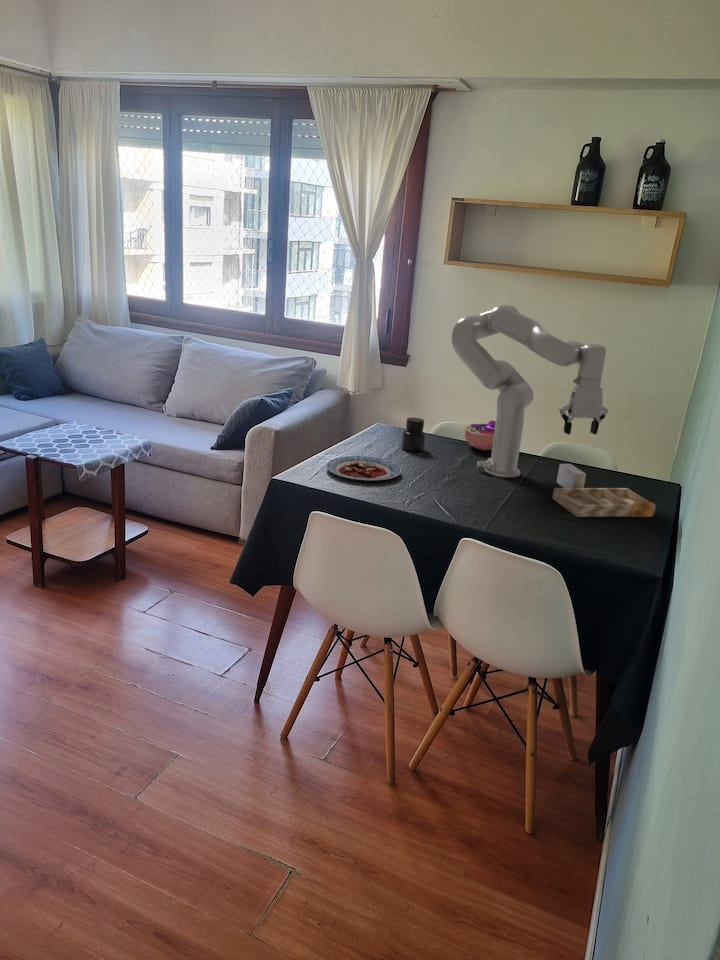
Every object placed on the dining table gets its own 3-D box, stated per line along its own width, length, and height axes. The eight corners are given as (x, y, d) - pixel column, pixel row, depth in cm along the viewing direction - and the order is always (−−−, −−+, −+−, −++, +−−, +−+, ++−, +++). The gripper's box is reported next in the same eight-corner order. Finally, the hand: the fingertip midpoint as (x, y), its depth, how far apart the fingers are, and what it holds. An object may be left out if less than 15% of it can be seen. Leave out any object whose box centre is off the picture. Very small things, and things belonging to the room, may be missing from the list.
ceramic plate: (378, 491, 213) (379, 482, 213) (311, 474, 225) (311, 465, 224) (413, 472, 235) (414, 464, 234) (350, 457, 247) (350, 449, 246)
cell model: (452, 446, 271) (455, 418, 267) (487, 441, 282) (491, 415, 278) (482, 457, 258) (486, 429, 254) (517, 452, 269) (521, 424, 266)
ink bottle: (427, 449, 264) (431, 419, 260) (420, 454, 256) (423, 423, 252) (404, 444, 267) (407, 415, 264) (396, 449, 260) (399, 419, 256)
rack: (577, 517, 203) (580, 503, 202) (552, 498, 219) (554, 485, 217) (654, 516, 209) (658, 503, 207) (625, 497, 224) (627, 485, 223)
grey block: (571, 493, 225) (575, 473, 222) (556, 482, 235) (559, 463, 233) (582, 493, 226) (586, 474, 223) (566, 482, 236) (570, 463, 233)
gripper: (569, 384, 214) (561, 436, 219) (618, 385, 217) (609, 436, 223) (558, 380, 221) (551, 430, 226) (606, 381, 224) (597, 430, 230)
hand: (580, 433), depth 225 cm, fingers open, 9 cm apart
